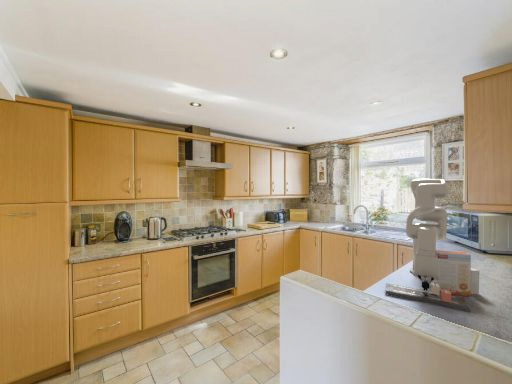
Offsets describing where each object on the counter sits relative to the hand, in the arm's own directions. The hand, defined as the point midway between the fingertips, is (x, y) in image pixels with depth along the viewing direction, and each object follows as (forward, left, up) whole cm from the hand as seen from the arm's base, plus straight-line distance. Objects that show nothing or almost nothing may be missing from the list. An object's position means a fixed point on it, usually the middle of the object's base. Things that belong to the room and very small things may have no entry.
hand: (425, 289), depth 118 cm
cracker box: (-12, +12, -3) cm, 17 cm away
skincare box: (-19, +21, -3) cm, 29 cm away
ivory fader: (0, +4, -1) cm, 4 cm away
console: (+4, -1, -3) cm, 5 cm away
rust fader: (+7, +7, -1) cm, 10 cm away
